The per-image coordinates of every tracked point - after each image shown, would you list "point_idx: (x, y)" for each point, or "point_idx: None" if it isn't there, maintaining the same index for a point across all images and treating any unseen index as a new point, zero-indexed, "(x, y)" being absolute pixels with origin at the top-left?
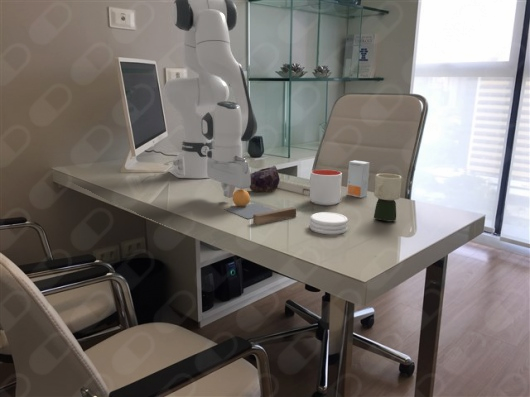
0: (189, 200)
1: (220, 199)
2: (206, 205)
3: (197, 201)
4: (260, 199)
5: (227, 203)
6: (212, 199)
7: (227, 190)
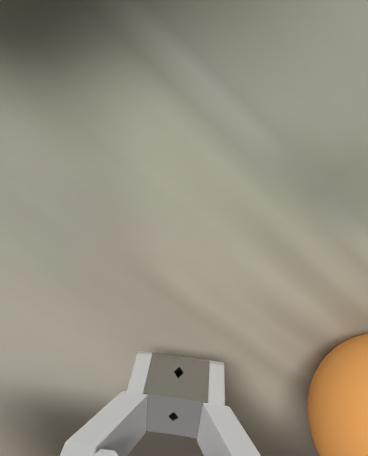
0: (11, 442)
1: (84, 327)
2: (166, 450)
3: (54, 432)
4: (358, 28)
5: (217, 360)
6: (54, 359)
7: (144, 412)
